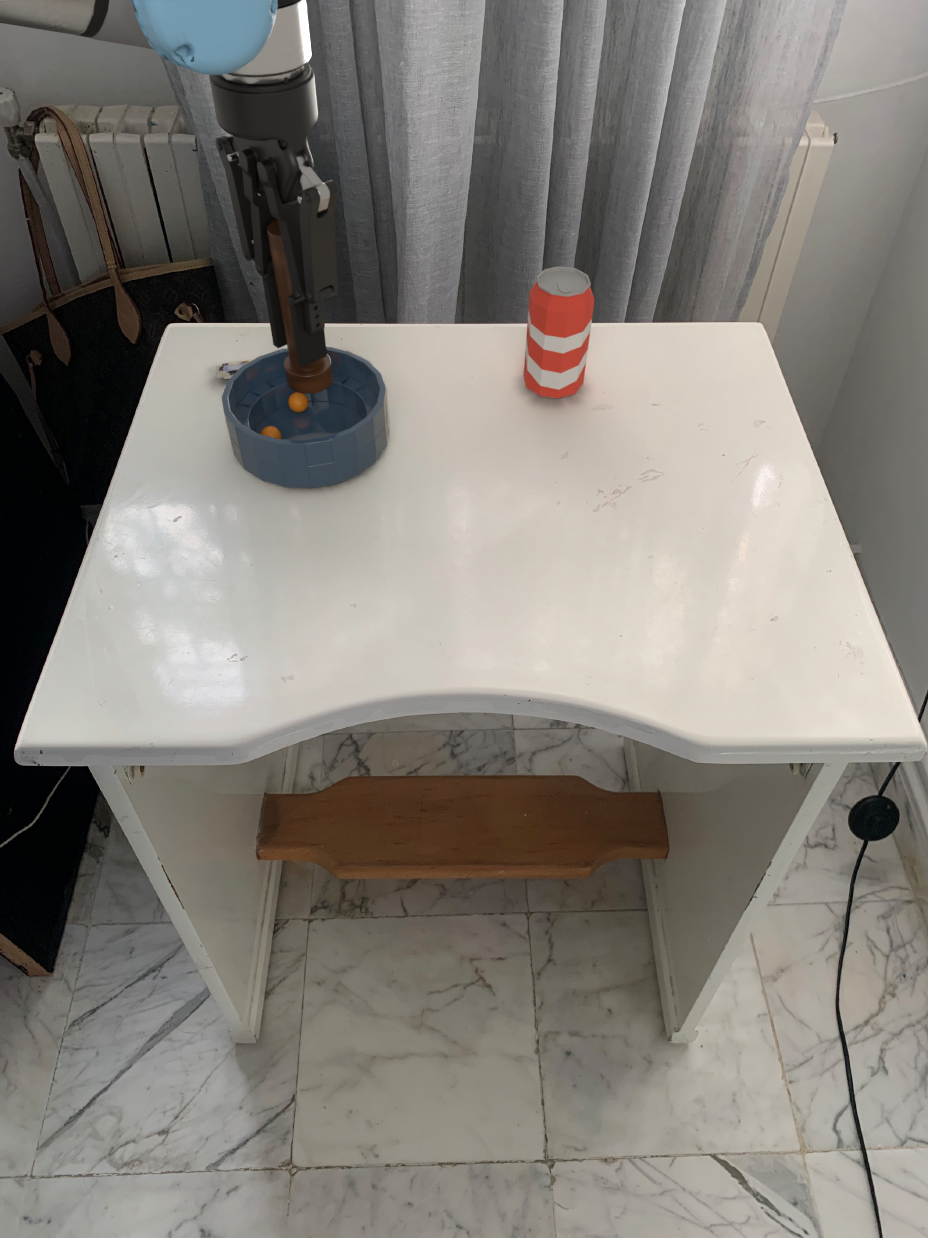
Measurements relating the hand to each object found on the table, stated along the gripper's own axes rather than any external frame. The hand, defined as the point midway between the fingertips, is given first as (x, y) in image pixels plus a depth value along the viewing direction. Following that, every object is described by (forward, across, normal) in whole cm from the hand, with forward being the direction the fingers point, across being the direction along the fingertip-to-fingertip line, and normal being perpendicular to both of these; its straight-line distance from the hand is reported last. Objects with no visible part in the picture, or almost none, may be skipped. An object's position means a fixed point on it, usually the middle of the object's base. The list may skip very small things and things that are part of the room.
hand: (300, 349), depth 82 cm
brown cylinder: (+4, 0, -1) cm, 4 cm away
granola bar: (+10, +13, -1) cm, 16 cm away
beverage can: (+9, -10, -24) cm, 28 cm away
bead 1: (+8, 0, +4) cm, 9 cm away
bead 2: (+8, +3, -1) cm, 8 cm away
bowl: (+10, -1, +1) cm, 10 cm away
